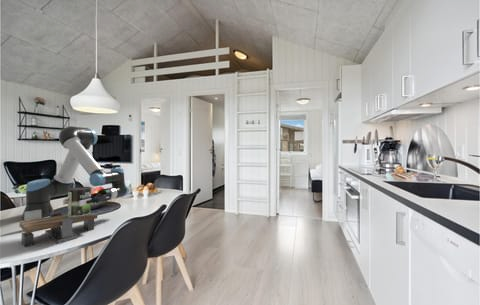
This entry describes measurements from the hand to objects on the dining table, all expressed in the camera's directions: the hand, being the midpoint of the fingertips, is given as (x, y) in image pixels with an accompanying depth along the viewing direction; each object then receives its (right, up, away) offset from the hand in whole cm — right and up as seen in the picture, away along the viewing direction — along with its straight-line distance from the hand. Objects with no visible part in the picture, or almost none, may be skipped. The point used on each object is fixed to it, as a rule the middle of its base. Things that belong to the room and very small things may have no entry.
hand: (71, 202), depth 114 cm
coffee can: (+1, -7, +4) cm, 9 cm away
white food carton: (-27, -16, +7) cm, 32 cm away
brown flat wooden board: (-4, -9, -2) cm, 10 cm away
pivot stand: (-4, -16, -2) cm, 17 cm away
